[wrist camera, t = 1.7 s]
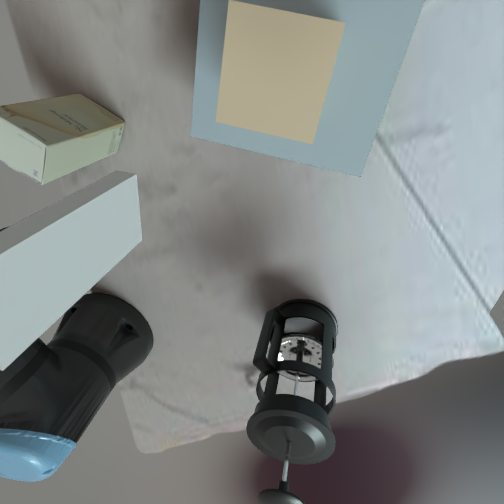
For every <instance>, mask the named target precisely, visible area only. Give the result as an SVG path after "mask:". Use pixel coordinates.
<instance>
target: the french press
mask: <svg viewBox="0 0 504 504" xmlns="http://www.w3.org/2000/svg"><path fill="white" fill-rule="evenodd" d="M293 317H303V318H308V319H312V320H315V321H317V322H319V323H321V324H322V325H323V339H322V340H320V339H319V338H317V337H315V336H312V335H309V334H305V333H298V332H293V333H285V334H284V328H285V323H286V319H288V318H293ZM337 333H338V325H337V321H336V318H335V316H334V315H333V314H332V312H331V311H330V310H329V309H328V308H326V307H325V306H323V305H322V304H320V303H317V302H315V301H311V300H305V299H296V300H291V301H287V302H285V303H283V304H282V305H280V306H279V307H278V308H277V307H276V308H274V309H272V310H270V311H269V312H267V313H266V316H265V319H264V323H263V326H262V330H261V334H260V337H259V341H258V344H257V348H256V351H255V355H254V359H253V364H254V365H255V366H256V367H257V368H258V369H259V370H260V371H261V373H260V375H259V379H258V383H257V387H256V392H257V396H258V399H259V400H260V402H259V403H258V404H257V406H256V408H255V413H254V414H253V415H252V416H251V417H250V419H249V420H248V423H247V428H246V429H247V434H248V437H249V439H250V440H251V442H252V443H253V444H254V445H255V446H256V447H257V448H258V449H259V450H261V451H262V452H263V453H265V454H267V455H269V456H270V457H273V458H275V459H277V460H280V461H284V462H285V464H284V470H283V479H282V481H279V485H278V489H265V490H262V491H261V492H260V493H259V494H258V501H259V503H260V504H304V502H303V501H302V500H301V499H300V498H299V497H297V496H296V495H294V494H292V493H290V492H288V487H289V484H288V482H286V478H287V470H288V463H293V464H313V463H318V462H321V461H324V460H325V459H327V458H329V457H330V456H331V454H332V453H333V452H334V449H335V438H334V435H333V433H332V431H331V422H330V418H329V416H328V415H329V414H330V413H331V412H332V411H333V409H334V407H335V401H336V390H335V385H334V383H333V381H332V368H333V364H334V360H333V356H332V355H333V353H334V351H335V348H336V336H337ZM269 341H270V346H269V348H268V345H269ZM267 349H268V351H267ZM266 353H267V358H266ZM279 374H280V375H282V376H284V377H286V378H288V379H291V380H294V381H295V387H294V395H290V394H276V390H277V384H278V379H279ZM267 375H268V378H267V382H266V387H265V392H263V390H262V388H261V385H260V381H261V380H262V379H263V378H264V377H265V376H267ZM298 381H300V382H312V381H315V392H314V402H313V401H311V400H309V399H306V398H304V397H300V396H297V389H298ZM326 386H327V387H328V388H329V389H330V391H331V393H332V395H333V398H332V400H331V401H330V402H329V404H327V405H326Z"/></svg>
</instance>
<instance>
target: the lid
mask: <svg viewBox="0 0 504 504" xmlns="http://www.w3.org/2000/svg"><path fill="white" fill-rule="evenodd" d="M424 1H425V0H200V10H199V24H198V38H197V52H196V66H195V80H194V94H193V108H192V122H191V137H195V138H199V139H204V140H208V141H212V142H216V143H220V144H224V145H228V146H233V147H237V148H241V149H245V150H249V151H253V152H258V153H262V154H266V155H270V156H274V157H278V158H283V159H287V160H291V161H295V162H299V163H303V164H308V165H312V166H316V167H320V168H324V169H328V170H332V171H337V172H341V173H345V174H349V175H353V176H357V177H361V174H362V172H363V169H364V166H365V163H366V161H367V158H368V155H369V152H370V150H371V147H372V144H373V141H374V139H375V136H376V133H377V130H378V128H379V125H380V122H381V119H382V117H383V114H384V111H385V108H386V106H387V103H388V100H389V97H390V95H391V92H392V89H393V86H394V84H395V81H396V78H397V75H398V73H399V70H400V67H401V64H402V62H403V59H404V56H405V53H406V51H407V48H408V45H409V42H410V40H411V37H412V34H413V31H414V29H415V26H416V23H417V20H418V18H419V15H420V12H421V9H422V7H423V4H424Z"/></svg>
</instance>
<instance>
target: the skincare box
mask: <svg viewBox="0 0 504 504" xmlns="http://www.w3.org/2000/svg"><path fill="white" fill-rule="evenodd" d="M124 125H125V122H124V121H123V120H122V119H120V118H118V117H117V116H115V115H114V114H112V113H111V112H109V111H108V110H106V109H104V108H103V107H101V106H100V105H98V104H96V103H95V102H93V101H91V100H90V99H88V98H87V97H85V96H83V95H82V94H74V95H67V96H60V97H54V98H47V99H41V100H35V101H29V102H23V103H16V104H11V105H4V106H0V161H1V162H2V163H4V164H6V165H7V166H9V167H11V168H12V169H14V170H16V171H18V172H19V173H21V174H23V175H25V176H26V177H28V178H30V179H32V180H33V181H35V182H37V183H38V184H40V185H43V184H46V183H48V182H50V181H52V180H55V179H57V178H59V177H62V176H64V175H66V174H69V173H71V172H73V171H76V170H78V169H80V168H82V167H85V166H87V165H89V164H92V163H94V162H96V161H99V160H101V159H103V158H106V157H108V156H110V155H113V154H115V153H117V150H118V147H119V144H120V140H121V137H122V133H123V129H124Z"/></svg>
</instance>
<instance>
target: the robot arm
mask: <svg viewBox="0 0 504 504" xmlns="http://www.w3.org/2000/svg"><path fill="white" fill-rule="evenodd" d="M141 241H142V232H141V220H140V209H139V198H138V186H137V175H136V174H134V173H128V172H123V171H115V172H113V173H111V174H109V175H107V176H105V177H104V178H102V179H100V180H98V181H96V182H94V183H92V184H90V185H88V186H86V187H84V188H83V189H81V190H79V191H77V192H75V193H73V194H71V195H69V196H67V197H65V198H63V199H62V200H60V201H58V202H56V203H54V204H52V205H50V206H49V207H46V208H44V209H42V210H41V211H39V212H37V213H35V214H33V215H31V216H29V217H27V218H26V219H23V220H22V221H20V222H18V223H16V224H14V225H12V226H10V227H6V228H3V229H1V230H0V476H1V477H5V478H9V479H13V480H18V481H39V480H43V479H45V478H48V477H49V476H50V475H52V474H53V473H54V472H55V471H56V470H57V469H58V468H59V466H60V465H61V464H62V462H63V461H64V460H65V459H66V457H67V456H68V455H69V453H70V452H71V450H73V449H74V448H75V447H76V445H77V444H76V443H77V442H78V440H79V439H80V437H81V436H82V434H83V433H84V431H85V430H86V428H87V427H88V425H89V424H90V422H91V421H92V419H93V418H94V416H95V415H96V413H97V411H98V410H99V409H100V407H101V406H102V404H103V403H104V401H105V400H106V398H107V397H108V395H109V394H110V392H111V391H112V389H113V388H114V386H115V385H116V384H117V383H118V382H119V381H120V380H122V379H123V378H124V377H125V376H127V375H128V374H129V373H130V372H132V371H133V370H134V369H135V368H137V367H138V366H139V365H140V364H142V363H143V361H144V360H145V359H146V357H147V356H148V354H149V353H150V351H151V349H152V347H153V335H152V331H151V329H150V327H149V325H148V323H147V322H146V320H145V319H144V318H143V317H142V315H141V314H140V313H139V312H138V311H136V310H135V309H134V308H133V307H132V306H130V305H129V304H127V303H126V302H124V301H122V300H120V299H118V298H116V297H113V296H110V295H106V294H100V293H91V294H86V295H84V294H85V293H86V292H87V291H88V290H90V289H91V288H92V287H93V286H94V285H95V284H96V283H97V282H98V281H99V280H100V279H101V278H102V277H103V276H104V275H106V274H107V273H108V272H109V271H110V270H111V269H112V268H113V267H114V266H115V265H116V264H117V263H118V262H119V261H120V260H121V259H123V258H124V257H125V256H126V255H127V254H128V253H129V252H130V251H131V250H132V249H133V248H134V247H135V246H136V245H137V244H138V243H140V242H141ZM83 295H84V296H83ZM65 312H66V313H65ZM64 313H65V315H64V317H63V319H62V321H61V323H60V325H59V327H58V329H57V331H56V333H55V335H54V337H53V339H52V340H51V341H50V343H49V344H48V345H45V343H43V341H42V340H41V339H39V337H40V335H42V334H43V333H44V332H45V331H46V330H47V329H48V328H49V327H50V326H51V325H52V324H53V323H54V322H56V321H57V319H59V318H60V317H61V316H62V315H63V314H64ZM490 315H491V316H492V318H493V320H494V322H495V323H496V325H497V327H498V329H499V330H500V332H501V334H502V336H503V337H504V291H503V293H502V294H501V296H500V297H499V299H498V301H497V302H496V304H495V305H494V307H493V308H492V310H491V312H490Z"/></svg>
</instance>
